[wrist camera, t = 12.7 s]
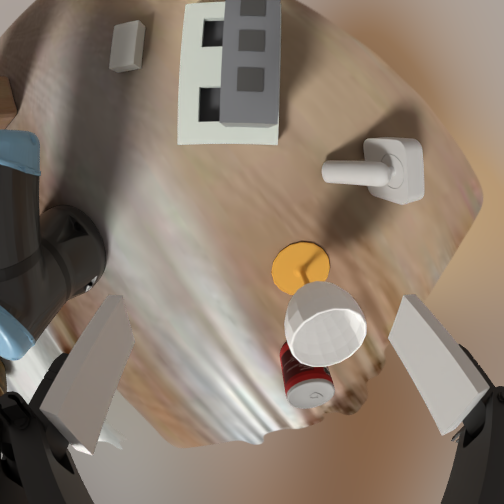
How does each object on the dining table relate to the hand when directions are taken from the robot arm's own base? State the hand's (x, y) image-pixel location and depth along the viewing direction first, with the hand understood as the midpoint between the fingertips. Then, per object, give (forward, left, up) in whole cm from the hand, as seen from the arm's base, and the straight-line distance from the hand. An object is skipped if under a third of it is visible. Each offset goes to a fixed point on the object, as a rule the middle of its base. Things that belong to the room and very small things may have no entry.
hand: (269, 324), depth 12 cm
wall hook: (+15, +5, -27) cm, 31 cm away
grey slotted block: (-1, +17, -26) cm, 31 cm away
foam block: (-17, +22, -27) cm, 39 cm away
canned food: (+10, -28, -27) cm, 40 cm away
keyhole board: (-3, +17, -27) cm, 32 cm away
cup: (+8, -11, -27) cm, 30 cm away
